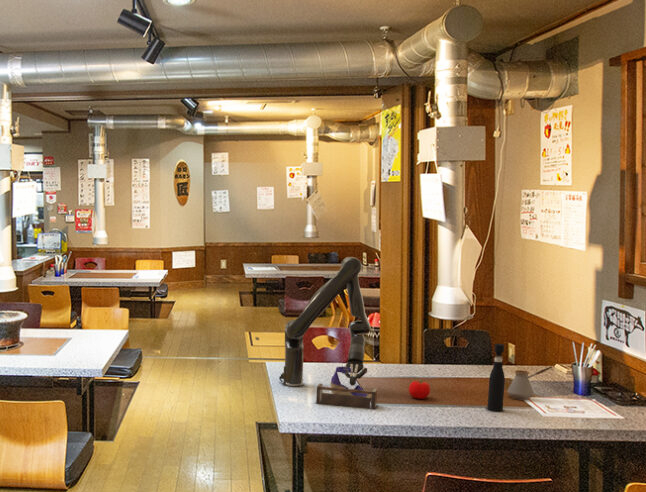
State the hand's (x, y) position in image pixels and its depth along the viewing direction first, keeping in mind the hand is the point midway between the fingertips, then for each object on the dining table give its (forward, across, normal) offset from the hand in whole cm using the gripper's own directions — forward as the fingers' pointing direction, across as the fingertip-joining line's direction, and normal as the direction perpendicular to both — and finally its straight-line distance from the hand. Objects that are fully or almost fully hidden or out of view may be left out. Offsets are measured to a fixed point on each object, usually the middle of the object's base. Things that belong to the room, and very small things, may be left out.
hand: (352, 384), depth 363 cm
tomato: (-1, +31, +10) cm, 32 cm away
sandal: (+6, 0, +2) cm, 6 cm away
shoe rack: (+15, -1, -7) cm, 16 cm away
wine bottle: (+6, +64, +3) cm, 64 cm away
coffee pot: (-14, +80, +23) cm, 84 cm away
